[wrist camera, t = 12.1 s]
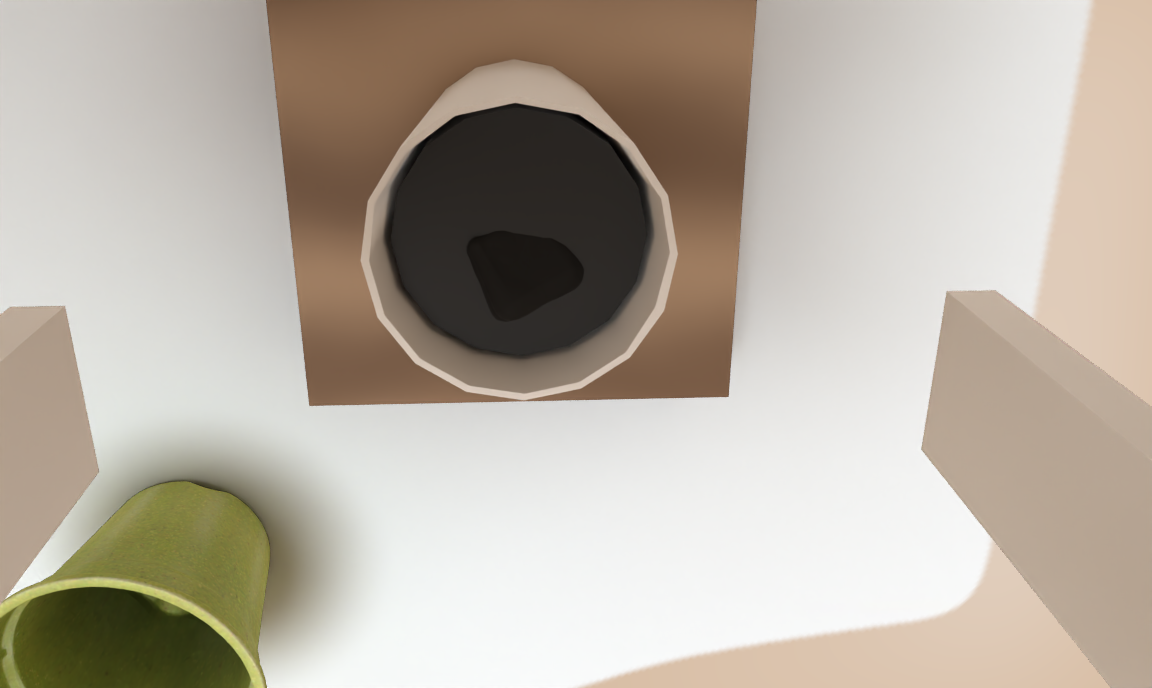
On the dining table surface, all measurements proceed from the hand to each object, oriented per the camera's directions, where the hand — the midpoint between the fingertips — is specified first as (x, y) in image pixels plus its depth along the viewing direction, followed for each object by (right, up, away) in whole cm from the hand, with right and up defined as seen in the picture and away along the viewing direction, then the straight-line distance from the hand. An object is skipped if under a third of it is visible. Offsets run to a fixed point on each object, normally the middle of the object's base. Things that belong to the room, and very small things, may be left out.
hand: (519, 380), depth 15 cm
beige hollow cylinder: (-1, +6, +15) cm, 17 cm away
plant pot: (-14, -7, +24) cm, 29 cm away
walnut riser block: (-1, +8, +19) cm, 20 cm away
